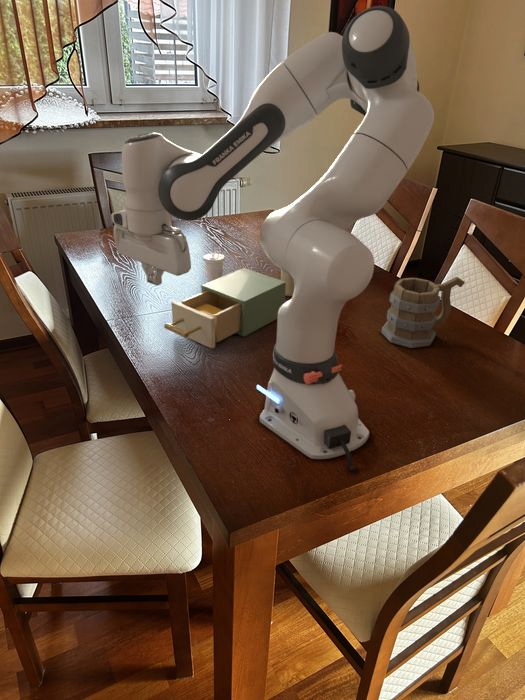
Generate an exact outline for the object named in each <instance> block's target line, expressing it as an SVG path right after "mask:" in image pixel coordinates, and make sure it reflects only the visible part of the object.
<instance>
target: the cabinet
mask: <svg viewBox="0 0 525 700" xmlns="http://www.w3.org/2000/svg"><path fill="white" fill-rule="evenodd" d="M200 286H201V293H202V292H204V291H206V290H207V291H210V292H212V293H215V294H218V295H220V296H223V297H225V298H228V299H231V300H233V301H236V302H238V303H241V304H242V326H241V330H240V331H238V332H236V333H235V334H237V335H239V336H241V337H246V336H248V335H250V334H252V333H254V332H255V331H257V330H259V329H261V328H262V327H265V326H266V325H268V324H270V323H272V322H275V321H277V320H278V311H279V309H280V307H281V306H282V305H283V304H284V303H285V302H286V295H285V287H286V282H284V281H281V279H279V278H276V277H273V276H269V275H267V274H264V273H261V272H257V271H254V270H252V269H248V268H245V267H242V268H240V269H238V270H234V271H233V272H230V273H227V274H225V275H222V277H220V278H218V279H215V280H213V281H210V282H208V281H207V282H206V283H203V284H201V285H200Z"/></svg>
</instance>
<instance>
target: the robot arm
mask: <svg viewBox="0 0 525 700" xmlns="http://www.w3.org/2000/svg"><path fill="white" fill-rule="evenodd" d="M416 58H417V57H416V54H415V50H414V47H413V43H412V41H411V37H410V32H409V29H408V26H407V24H406V22H405V20H404V19H403V17H402V16H401V14H400V13H398V12H397V11H396V10H395V9H394V8H392V7H389V6H385V5H376V6H375V5H374V6H370V7H368V8H366V9H363V10H362V11H360V12H358V13H357V14H356V15H355V16H354V17H353V18H352V19H351V20H350V21H349V23H348V24H347V25H346V27H345V29H344V31H343V34H342V35H341V34H339V33H338V32H335V31H334V32H333V31H328V32H324V33H322V34H320V35H319V36H317V37H315V38H313V39H312V40H310V41H308V42H306V43H305V44H304V45H302V46H301V47H299V48H298V49H296V50H295V51H294V52H293V53H291V54H289V55H288V57H286V58H285V59H284V60H282V61H281V62H280V63H279V64H278V65H277V66H275V68H274V69H272V70H271V72H269V73H268V74H267V75H266V77H265V78H264V79H263V80H262V81H261V83H260V84H259V85H258V86H257V88H256V89H255V90H254V92H253V93H252V96H251V99H250V100H249V103H248V106H247V107H246V109H245V111H244V112H243V114H242V116H241V118H240V119H239V120H238V122H237V123H235V125H234V126H233V127H232V128H231V129H230V130H229V131H227V133H225V134H224V135H223V136H222V137H221V138H220V139H218V140H217V141H216V142H215V143H214V144H213V145H212V146H211V147H209V148H208V149H207V150H206V151H205V152H204V153H203V154H202V153H199V152H196V151H192V150H190V149H186V148H183V147H182V146H179V145H177V144H175V143H173V142H172V141H170V140H168V139H167V138H165V136H164V135H162V133H158V132H150V133H149V132H147V133H142V134H137V135H134V136H132V137H129V139H127V140H126V141H125V142H124V144H123V145H122V147H121V174H122V177H121V178H122V184H123V187H124V190H125V193H126V195H125V197H126V198H125V203H124V205H125V209H121V210H118V211H115V212H112V213H111V215H110V217H111V222H112V223H113V224H114V225H113V240H114V246H115V249H116V251H117V253H118V254H119V255H121V256H124V257H126V258H129V259H131V260H134V261H137V262H140V263H141V268H142V270H143V272H144V274H145V277H146V282H147V283H148V284H152V285H154V286H157V287H158V286H161V285H162V283H163V279H162V278H163V275H164V273H165V272H166V273H168V274H171V275H174V276H176V277H180V276H182V275H186V274H188V273H189V272H190V271H191V269H192V261H191V254H190V253H191V252H190V247H189V243H188V240H187V237H186V235H185V234H184V233H183V232H182V230H181V229H180V228H178V227H173V225H172V223H173V222H172V217H174V218H176V219H179V220H181V221H196V220H199V219H201V218H203V217H204V216H206V215H207V214H208V213H209V212H210V211H211V209H212V208H213V206H214V204H215V201H216V200H217V198H218V195H219V194H220V192H221V190H222V189H223V187H225V186H226V185H227V183H228V182H230V181H231V180H232V179H233V178H234V177H236V176H237V175H238V174H239V173H240V172H241V171H242V170H244V169H245V168H246V167H247V166H248V165H249V164H251V163H252V162H253V161H254V160H256V158H257V157H259V156H260V155H261V154H262V153H264V152H265V151H266V150H268V149H269V148H271V147H272V146H274V145H275V144H277V143H279V142H281V141H282V140H284V139H285V138H287V137H288V136H290V135H292V134H293V133H295V132H297V131H298V130H300V129H302V128H303V127H304V126H306V125H307V124H309V123H311V121H312V120H314V119H315V118H316V117H317V116H319V115H320V114H321V113H322V112H324V111H325V110H326V109H327V108H329V106H331V105H332V104H334V103H335V102H338V101H339V100H341V99H343V100H344V99H348V100H349V102H350V107H351V109H352V110H354V111H356V112H358V113H360V114H361V115H362V116H364V117H363V119H362V120H361V121H360V124H359V125H358V126H357V128H356V129H355V130H354V132H353V134H352V135H351V136H350V138H349V139H348V141H347V143H346V144H345V145H344V147H343V148H342V150H341V151H340V153H339V154H338V155H337V157H336V158H335V160H334V161H333V163H332V164H331V165H330V167H329V168H328V169H327V170H326V172H325V173H324V174H323V175H322V176H321V178H320V179H318V181H317V182H316V183H314V185H312V186H311V188H309V189H308V190H307V191H306V192H305V193H303V194H302V195H300V197H298V198H297V199H296V200H295V201H293V202H292V203H291V204H288V205H287V206H284V207H282V208H279V209H277V210H274V211H273V212H270V214H269V215H268V216H267V217H266V218H265V219H264V221H263V223H262V224H261V227H260V230H259V235H258V238H259V244H260V248H261V249H262V251H263V253H264V254H265V255H266V256H267V258H268V259H269V260H270V262H271V263H272V264H273V265H274V266H276V267H277V268H279V269H280V270H281V269H282V270H283V271H285V272H286V273H288V274H289V275H291V276H292V277H293V279H294V283H295V289H294V293H293V296H291V298H290V299H288V300H287V301H285V303H284V304H283V305H282V306H281V307H280V309H279V311H278V318H277V319H276V321H277V323H276V341H275V343H274V347H273V350H272V351H273V352H272V365H273V370H272V373H271V376H270V378H269V380H268V383H267V389H265V388H263V387H262V386H261V385H259V384H257V385H256V389H257V390H258V391H259V392H261V393H262V394H264V395H265V402H264V409H263V410H262V412H261V413H260V415H259V418H258V419H259V423H261V424H262V425H263V426H265V427H266V428H267V429H269V430H270V431H272V432H273V433H274V434H276V435H277V436H278V437H280V438H281V439H282V440H284V441H285V442H287V443H288V444H290V445H291V446H293V447H294V448H295V449H297V450H298V451H299V452H301V453H302V454H303V455H305V456H306V457H308V458H310V459H311V460H327V459H333V458H336V457H340V456H343V455H346V458H347V459H346V460H347V466H348V469H349V470H350V471H351V472H355V471H356V468H355V467H354V465H353V457H352V454H351V452H353V451H355V450H357V449H358V448H360V447H362V446H363V445H364V444H366V442H367V441H368V440H369V437H370V430H369V429H368V428H367V427H366V426H365V424H364V423H363V422H362V421H361V419H360V418H359V408H358V405H357V404H356V393H355V391H354V389H348V387H347V385H346V384H345V381H344V380H343V378H342V376H341V375H340V373H339V372H340V371H342V370H343V369H342V367H343V364H339V362H338V355H337V350H336V347H335V345H336V338H337V331H338V323H339V319H340V316H341V313H342V310H343V308H344V307H345V305H346V304H347V302H348V301H350V300H352V299H355V298H356V297H357V296H359V295H360V294H361V293H363V292H364V291H365V290H366V288H368V285H369V284H370V282H371V280H372V278H373V275H374V270H375V259H374V254H373V253H372V251H371V249H369V247H368V246H367V245H366V244H365V243H363V241H362V240H361V239H359V238H358V237H357V236H355V234H353V233H351V232H350V231H348V230H347V229H348V228H349V227H350V226H352V224H354V223H356V222H358V221H360V220H361V219H365V218H368V217H371V216H373V215H375V214H377V213H378V212H380V211H381V210H382V209H383V207H384V206H385V204H386V203H387V202H388V200H389V199H390V197H391V196H392V194H393V193H394V192H395V190H396V189H397V187H398V186H399V184H400V183H401V181H402V180H403V178H405V176H406V174H407V173H408V171H409V170H410V168H411V167H412V166H413V164H414V162H415V161H416V159H417V158H418V156H419V154H420V152H421V150H422V148H423V146H424V145H425V143H426V140H427V138H428V136H429V135H430V132H431V130H432V128H433V125H434V122H435V111H434V108H433V104H432V103H431V102H430V101H429V99H428V98H427V97H426V96H425V95H424V94H423V93H422V92H420V83H419V79H418V68H417V59H416Z"/></svg>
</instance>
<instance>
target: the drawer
mask: <svg viewBox="0 0 525 700" xmlns="http://www.w3.org/2000/svg"><path fill="white" fill-rule="evenodd" d="M206 303H207V304H209V305H212V306H214V307H216V308H219V309H221V310H223V311H221V312H219V313H216V314H214V317H212V316H210V315H207V314H205V313H202V312H200V311H198V310H195V308H197V307H199V306H202V305H204V304H206ZM171 317H172V318H171V319H172V322H170V323H169V322H166V323H164V325H163V327H164V329H165V330H167V331H170V332H171V333H174V334H176V335H178V336H180V337H182V338H184V339H187V338H188V339H190V340H192V341H194V342H196V343H199V344H201V345H203V346H205V347H207V348H209V349H214V348H216V343H219V342H221V341H223V340H225V339H227V338H228V337H230V336H232V335H234V334H237V333H236V332H238V331H240V330H241V326H242V304H241V303H238V302H236V301H233V300H231V299H228V298H225V297H223V296H220V295H218V294H215V293H212V292H210V291H207V290H206V291H204V292H202V291H201V292H200V293H197V294H195V295H192V296H189V297H187V298H185V299H183V300H181V302H178V301H176V300H174V301H172V302H171Z"/></svg>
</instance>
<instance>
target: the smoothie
mask: <svg viewBox="0 0 525 700" xmlns="http://www.w3.org/2000/svg"><path fill="white" fill-rule="evenodd" d="M214 245H215V243H214V242H213V241H212V242H211V252H209V253H206V254H204V255H203V257H202V261H203V262H204V268H205V273H206V280H207V283H208V282H210V281H213V280H215V279H218V278H220V277H223V270H224V262H225V261H226V257H225V254H223V253H218V252H215V248H214V247H215V246H214Z"/></svg>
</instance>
